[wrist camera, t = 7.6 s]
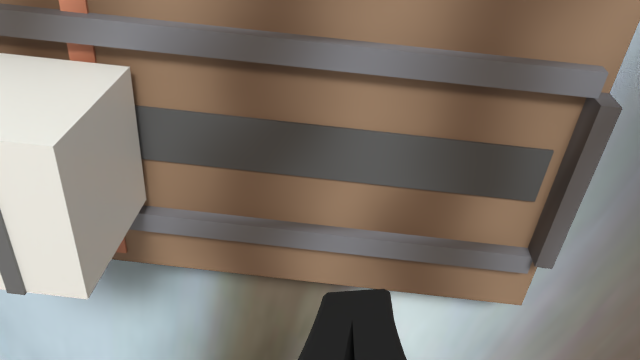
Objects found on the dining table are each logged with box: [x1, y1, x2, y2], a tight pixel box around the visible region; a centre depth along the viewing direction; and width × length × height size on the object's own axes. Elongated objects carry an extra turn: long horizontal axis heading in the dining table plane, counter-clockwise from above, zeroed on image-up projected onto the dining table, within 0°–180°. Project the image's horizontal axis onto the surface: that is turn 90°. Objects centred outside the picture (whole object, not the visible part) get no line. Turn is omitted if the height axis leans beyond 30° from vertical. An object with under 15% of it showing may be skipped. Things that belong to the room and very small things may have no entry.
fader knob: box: [0, 53, 146, 299], centre depth 16 cm, size 4×5×5 cm
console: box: [0, 0, 640, 305], centre depth 18 cm, size 20×12×3 cm, turn 85°
